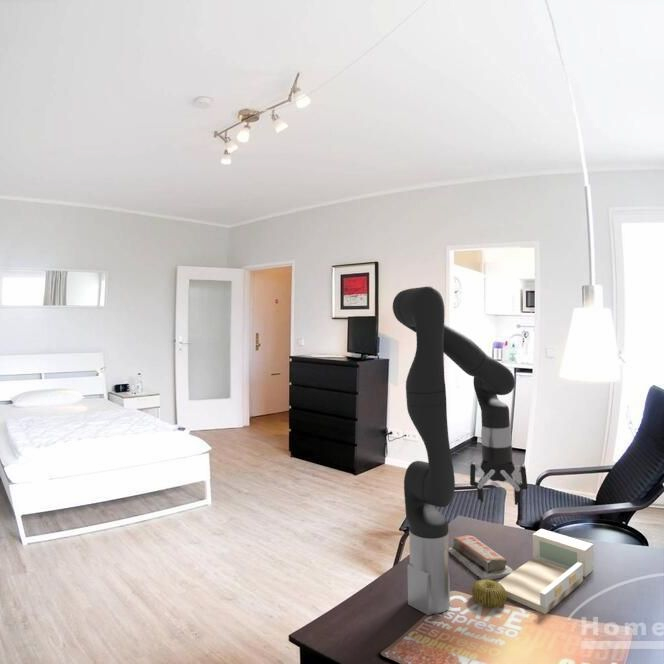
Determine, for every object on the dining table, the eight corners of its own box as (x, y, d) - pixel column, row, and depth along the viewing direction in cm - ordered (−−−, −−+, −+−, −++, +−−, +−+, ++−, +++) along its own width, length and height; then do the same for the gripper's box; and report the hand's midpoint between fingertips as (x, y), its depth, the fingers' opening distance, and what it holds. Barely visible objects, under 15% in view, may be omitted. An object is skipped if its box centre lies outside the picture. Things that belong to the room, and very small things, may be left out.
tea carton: (585, 577, 122) (584, 550, 122) (532, 558, 133) (532, 534, 133) (593, 570, 126) (593, 544, 126) (541, 552, 136) (541, 528, 136)
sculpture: (467, 588, 111) (475, 573, 118) (468, 605, 111) (476, 589, 118) (502, 597, 107) (509, 581, 113) (503, 615, 107) (509, 597, 113)
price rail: (546, 608, 106) (545, 594, 106) (540, 605, 107) (539, 592, 107) (583, 575, 120) (583, 563, 120) (578, 573, 121) (577, 561, 121)
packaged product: (446, 536, 138) (475, 531, 141) (446, 552, 138) (475, 547, 141) (483, 564, 121) (516, 558, 124) (484, 583, 121) (516, 576, 124)
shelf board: (545, 614, 106) (545, 607, 106) (493, 591, 116) (493, 585, 116) (583, 581, 120) (583, 575, 120) (533, 563, 130) (533, 557, 130)
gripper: (467, 445, 122) (470, 506, 123) (526, 447, 117) (529, 510, 118) (469, 437, 129) (471, 494, 130) (524, 439, 125) (527, 498, 125)
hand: (499, 502), depth 124 cm, fingers open, 8 cm apart
